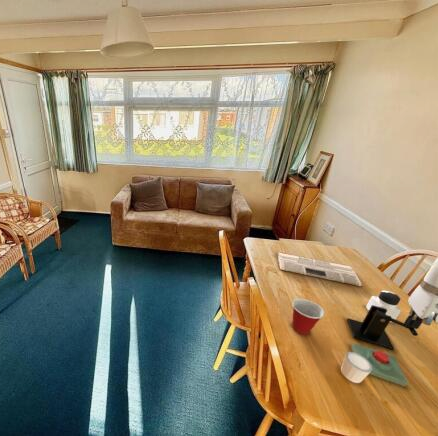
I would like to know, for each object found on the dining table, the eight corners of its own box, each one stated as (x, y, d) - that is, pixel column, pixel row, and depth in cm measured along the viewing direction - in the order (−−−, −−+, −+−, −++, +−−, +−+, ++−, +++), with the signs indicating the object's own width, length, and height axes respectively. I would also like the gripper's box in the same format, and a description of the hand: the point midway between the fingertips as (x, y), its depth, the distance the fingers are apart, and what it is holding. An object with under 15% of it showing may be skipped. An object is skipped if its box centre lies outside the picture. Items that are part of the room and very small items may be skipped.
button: (384, 356, 81) (386, 353, 80) (388, 365, 78) (391, 362, 77) (371, 352, 82) (373, 348, 82) (375, 360, 80) (377, 357, 79)
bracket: (382, 330, 95) (396, 307, 90) (392, 350, 87) (409, 327, 81) (346, 319, 100) (357, 297, 94) (353, 338, 92) (366, 315, 86)
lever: (407, 324, 88) (411, 321, 87) (415, 337, 84) (420, 333, 82) (370, 309, 92) (374, 305, 91) (376, 320, 87) (380, 316, 86)
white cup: (367, 388, 75) (376, 375, 72) (342, 380, 77) (350, 367, 74) (358, 368, 81) (366, 355, 78) (335, 361, 83) (342, 349, 80)
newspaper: (280, 270, 131) (281, 266, 130) (277, 253, 147) (278, 249, 146) (360, 287, 118) (362, 283, 117) (346, 266, 134) (348, 262, 133)
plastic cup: (300, 315, 102) (308, 295, 97) (321, 336, 92) (331, 315, 87) (279, 320, 100) (286, 299, 95) (299, 342, 90) (308, 320, 85)
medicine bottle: (394, 323, 98) (407, 302, 93) (373, 318, 100) (385, 298, 95) (384, 310, 104) (396, 290, 99) (365, 307, 106) (376, 287, 101)
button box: (391, 360, 84) (396, 352, 82) (404, 386, 75) (410, 379, 74) (350, 346, 88) (354, 339, 87) (359, 370, 80) (363, 363, 78)
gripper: (468, 307, 70) (436, 346, 78) (439, 278, 82) (413, 315, 90) (434, 299, 73) (406, 338, 81) (411, 272, 85) (388, 308, 93)
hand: (410, 325), depth 85 cm, fingers closed
